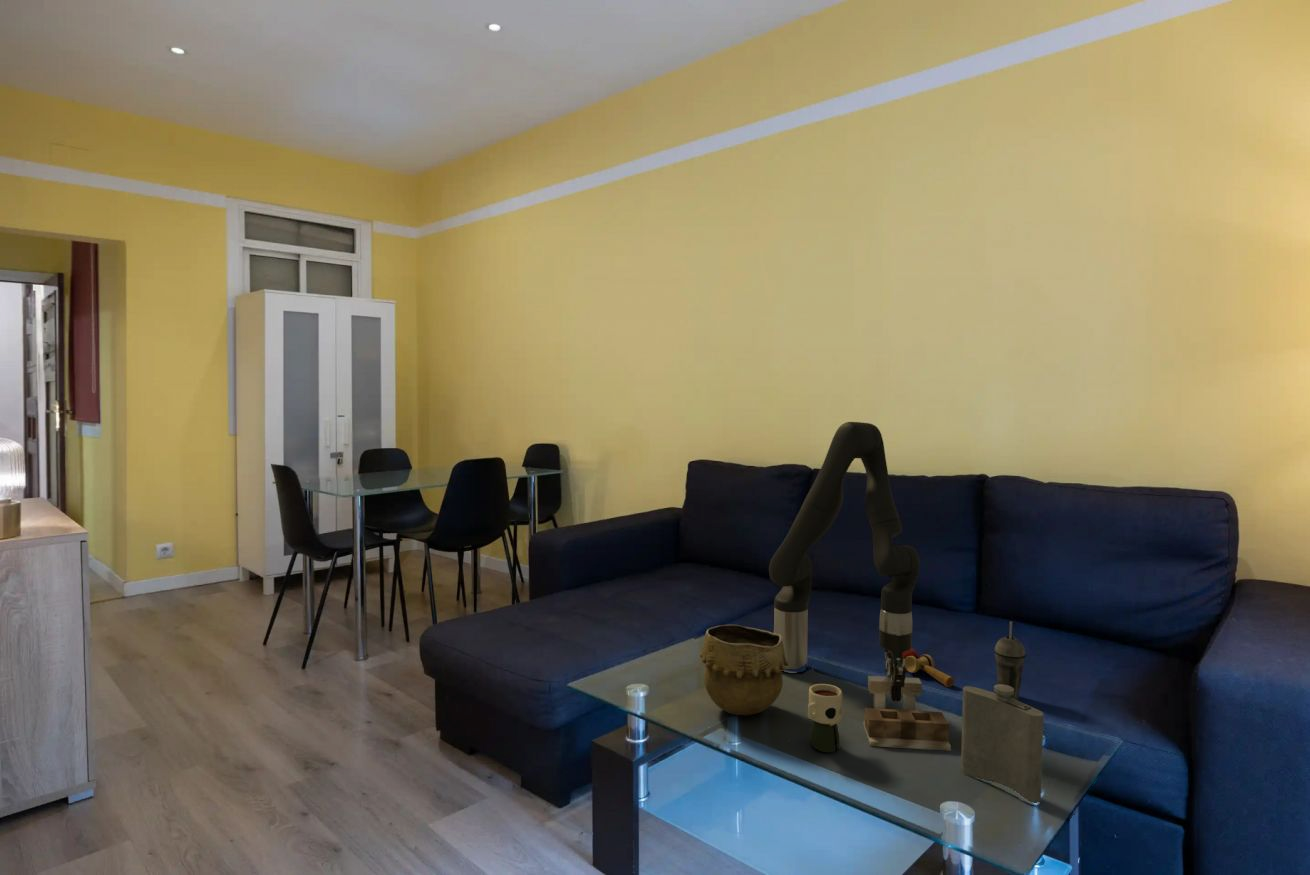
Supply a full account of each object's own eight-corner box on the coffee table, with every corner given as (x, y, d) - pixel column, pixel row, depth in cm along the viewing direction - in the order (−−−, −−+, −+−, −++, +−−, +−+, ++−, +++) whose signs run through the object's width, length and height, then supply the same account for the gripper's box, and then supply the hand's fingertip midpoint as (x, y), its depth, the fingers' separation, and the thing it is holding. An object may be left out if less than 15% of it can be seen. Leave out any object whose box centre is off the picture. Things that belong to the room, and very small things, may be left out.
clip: (869, 713, 176) (870, 681, 175) (867, 707, 179) (868, 675, 178) (921, 716, 174) (921, 683, 174) (918, 710, 177) (918, 678, 177)
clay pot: (736, 685, 192) (736, 612, 191) (804, 711, 177) (804, 631, 176) (682, 710, 177) (682, 630, 176) (751, 740, 162) (751, 653, 161)
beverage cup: (1024, 694, 186) (1026, 617, 185) (1025, 705, 180) (1027, 626, 178) (992, 689, 189) (995, 614, 188) (992, 700, 183) (995, 622, 181)
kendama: (961, 688, 193) (909, 657, 209) (961, 668, 191) (909, 638, 207) (940, 699, 190) (889, 666, 206) (940, 678, 188) (889, 647, 204)
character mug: (821, 762, 153) (821, 702, 152) (795, 748, 159) (796, 691, 158) (853, 746, 159) (854, 689, 159) (828, 734, 165) (829, 678, 164)
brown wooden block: (870, 745, 160) (870, 723, 159) (863, 724, 170) (863, 704, 169) (950, 750, 158) (951, 728, 157) (938, 729, 167) (939, 708, 167)
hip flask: (957, 771, 149) (960, 676, 148) (968, 765, 152) (971, 672, 150) (1035, 807, 136) (1038, 704, 135) (1046, 800, 139) (1049, 699, 137)
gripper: (874, 618, 182) (873, 684, 184) (885, 637, 168) (883, 709, 170) (905, 619, 181) (904, 686, 183) (918, 638, 168) (917, 711, 169)
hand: (894, 697), depth 176 cm, fingers closed on clip, 3 cm apart
